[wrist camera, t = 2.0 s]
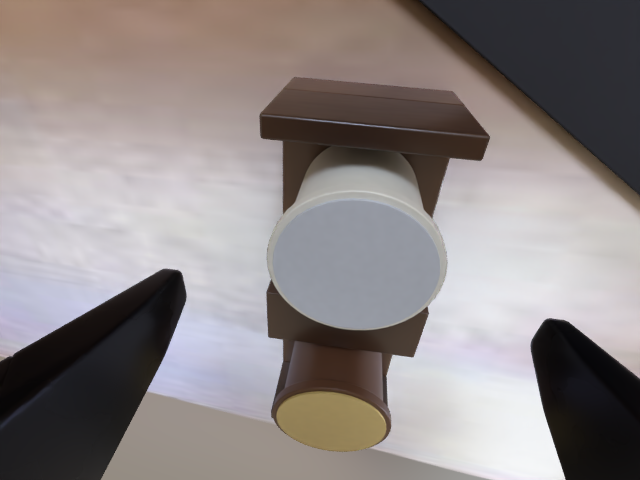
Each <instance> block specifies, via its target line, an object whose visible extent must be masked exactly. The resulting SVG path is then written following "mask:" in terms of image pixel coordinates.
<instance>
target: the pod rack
mask: <svg viewBox="0 0 640 480" xmlns="http://www.w3.org/2000/svg"><path fill="white" fill-rule="evenodd" d="M260 136H261V138H263V139H270V140H280V141H283V214H284V213H285V212H286V210H287V209H289V208H290V207H291V206H292V205H293V204H294V203H295V201H296V198H297V196H298V193H299V190H300V188H301V185H302V182H303V179H304V177H305V174H306V172H307V169H308V168H309V166H310V164H311V163H312V162H313V161H314V159H315V158H316V157H317V156H318V155H319V154H320V153H321V152H323V151H324V150H326V149H327V148H329V147H331V146H339V147H349V148H358V149H368V150H378V151H388V152H398V153H400V154H401V155H402V156H403V157H404V158H405V159H406V160H407V161H408V163H409V164H410V166H411V167H412V169H413V171H414V173H415V176H416V180H417V184H418V188H419V192H420V196H421V200H422V204H423V209H424V210H425V212H426V213H427V214H428V215H429V216H430V217H431V218H432V217H433V214H434V210H435V207H436V204H437V200H438V197H439V193H440V190H441V186H442V183H443V180H444V176H445V173H446V169H447V166H448V162H449V159H450V158H456V159H466V160H476V161H481V160H482V159H483V157H484V154H485V151H486V148H487V145H488V142H489V139H490V136H489V135H488V133H487V132H486V131H485V130H484V129H483V127H482V126H481V125H480V124H479V123H478V121H477V120H476V119H475V118H474V117H473V115H472V114H471V113H470V112H469V110H468V109H467V108H466V107H465V106H464V104H463V103H462V102H461V101H460V99H459V98H458V97H457V96H456V95H455V93H454V92H452V91H441V90H430V89H419V88H408V87H397V86H386V85H375V84H364V83H353V82H342V81H331V80H320V79H308V78H297V77H294V78H293V79H292V80H291V81H290V82H289V83H288V84H287V85H286V86H285V87H284V88H283V90H282V91H281V92H280V93H279V94H278V95H277V96H276V97H275V98H274V100H273V101H272V102H271V103H270V104H269V105H268V106H267V107H266V108H265V109H264V110H263V111H262V112H261V114H260ZM266 293H267V318H268V337H270V338H277V339H283V364H282V368H281V372H280V377H279V381H278V385H277V389H276V393H275V397H274V401H273V406H274V402H275V399H276V397H277V395H278V394H279V393H280V392H281V391H282V390H283V389H285V384H286V380H287V375H288V371H289V366H290V362H291V357H292V353H293V348H294V343H295V341H299V342H306V343H313V344H320V345H328V346H335V347H342V348H349V349H357V350H364V351H371V352H378V353H382V382H383V402H384V403H385V404H386V405H387V407H388V404H387V378H386V375H387V372H388V368H389V365H390V361H391V358H392V354H393V355H400V356H407V357H414V354H415V352H416V349H417V346H418V343H419V340H420V337H421V334H422V332H423V329H424V326H425V323H426V320H427V317H428V314H429V312H428V307H426V308H425V309H423V310H422V311H421V312H420V313H418V314H417V315H415V316H414V317H412V318H410V319H408V320H406V321H404V322H401V323H399V324H396V325H393V326H389V327H386V328H380V329H374V330H348V329H341V328H335V327H332V326H328V325H325V324H322V323H319V322H316V321H314V320H312V319H310V318H308V317H306V316H305V315H303V314H301V313H300V312H298V311H297V310H296V309H294V308H293V307H292V306H291V305H290V304H289V303H288V302H286V301H285V300H284V298H283V297H282V296H281V295H280V293H279V292H278V291H277V289H276V287H275V286H274V284H273V282H272V279H271V281H270V284H269V287H268V290H267V292H266ZM273 406H272V410H271V417H272V418H273V413H272V412H273Z"/></svg>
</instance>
